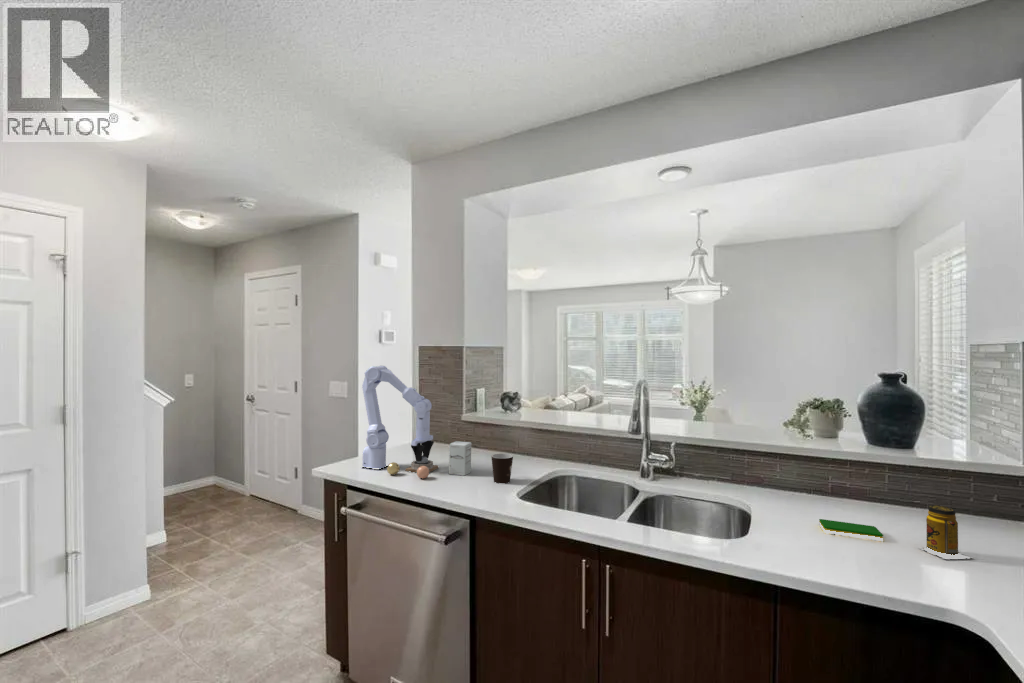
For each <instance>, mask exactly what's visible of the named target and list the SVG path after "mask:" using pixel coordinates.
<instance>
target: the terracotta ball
mask: <svg viewBox="0 0 1024 683" xmlns="http://www.w3.org/2000/svg"><path fill="white" fill-rule="evenodd" d="M416 475H417V477H418V478H419V479H421V478H422V479H423V480H424V479H426V478H428V477H429V475H430V473H429V469H428V467H426V466H420V467H419V468H418V469H417V473H416Z"/></svg>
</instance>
